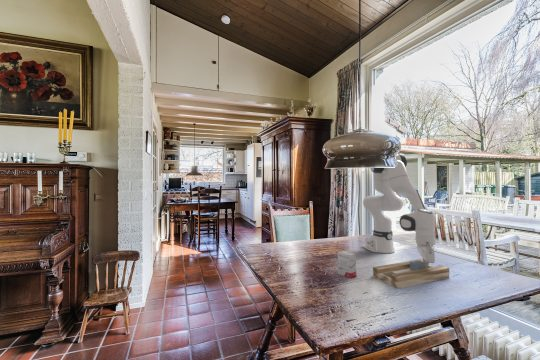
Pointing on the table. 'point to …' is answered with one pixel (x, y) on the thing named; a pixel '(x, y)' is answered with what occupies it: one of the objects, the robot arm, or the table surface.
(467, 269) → the table surface
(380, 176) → the robot arm
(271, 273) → the table surface
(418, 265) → the slate block
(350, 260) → the ink box
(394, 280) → the trap lane
